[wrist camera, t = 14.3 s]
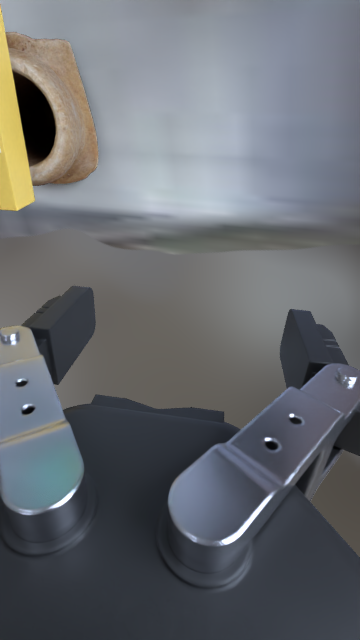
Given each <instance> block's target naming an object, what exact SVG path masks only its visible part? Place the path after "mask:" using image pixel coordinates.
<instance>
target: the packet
mask: <svg viewBox="0 0 360 640" xmlns="http://www.w3.org/2000/svg"><path fill="white" fill-rule="evenodd" d="M34 201H35V198H34V192H33V186H32V181H31V175H30V169H29V164H28V158H27V152H26V147H25V141H24V135H23V130H22V124H21V119H20V113H19V107H18V102H17V96H16V90H15V85H14V79H13V73H12V68H11V62H10V56H9V51H8V45H7V40H6V34H5V28H4V23H3V17H2V11H1V6H0V210H11V211H18V210H19V209H21V208H23V207H25V206H27V205H29V204H30V203H32V202H34Z"/></svg>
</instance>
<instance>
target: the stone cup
mask: <svg viewBox="0 0 360 640" xmlns="http://www.w3.org/2000/svg"><path fill="white" fill-rule="evenodd" d="M5 34H6V40H7V45H8V51H9V56H10V62H11V68H12V73H13V79H14V85H15V90H16V96H17V102H18V107H19V113H20V119H21V124H22V130H23V135H24V141H25V147H26V152H27V158H28V164H29V169H30V175H31V181H32V186H39V185H45V184H48V183H52V184H67V183H73V182H77V181H80V180H83V179H85V178H87V177H88V176H89V174H90V173H92V172H93V171H94V170H95V169H96V168H97V165H98V143H97V136H96V130H95V126H94V122H93V118H92V115H91V111H90V108H89V104H88V101H87V97H86V94H85V90H84V87H83V84H82V81H81V77H80V74H79V71H78V67H77V64H76V60H75V57H74V54H73V51H72V48H71V46H70V43H69V42H68V41H66V40H61V39H32V38H30V37H28V36H26V35H23V34H19V33H17V32H5Z"/></svg>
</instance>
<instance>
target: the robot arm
mask: <svg viewBox="0 0 360 640" xmlns="http://www.w3.org/2000/svg"><path fill="white" fill-rule="evenodd" d="M95 323H96V322H95V309H94V297H93V291H92V289H91V288H90V287H80V286H72V287H71V288H69V290H67V291H66V292H65V293H64V294H63V295H62V296H58V297H55V298H53V299H51V300H49V301H48V302H46V303H45V304H44V305H43V306H42V308H40V309H39V310H37V312H36V313H34V314H33V315H32V316H31V317H30V318H29V319H27V320H26V321H25V322H24V323H23V324H22V325H21V326H8V327H3V328H0V640H360V557H359V556H358V555H357V554H356V553H355V552H354V551H353V549H352V548H351V547H350V546H349V545H348V544H347V543H346V542H345V540H343V538H342V537H341V536H340V535H339V534H338V533H337V531H336V530H335V529H334V528H333V527H332V526H331V525H330V524H329V522H327V520H326V519H325V518H324V517H323V516H322V515H321V514H320V512H319V511H318V510H317V509H316V508H315V507H314V506H313V504H312V503H311V502H310V501H311V499H312V497H313V495H314V494H315V492H316V490H317V488H318V487H319V485H320V484H321V482H322V481H323V479H324V478H325V477H326V475H327V474H328V472H329V471H330V469H331V468H332V467H333V465H334V463H335V462H336V461H337V459H338V458H339V456H340V455H341V454H342V452H343V450H346V451H348V452H351V453H354V454H356V455H358V456H360V371H359V370H358V369H356V368H354V367H351V366H349V365H348V363H347V361H346V359H345V357H344V355H343V353H342V351H341V349H340V348H339V345H338V343H337V342H336V339H335V337H334V336H333V334H332V332H331V331H330V330H328V329H327V328H326V327H325V326H323V325H320V324H316V323H315V320H314V318H313V316H312V314H311V312H310V311H303V310H294V309H290V310H289V312H288V316H287V320H286V325H285V328H284V333H283V337H282V341H281V346H280V360H281V364H282V369H283V373H284V378H285V382H286V387H287V389H286V390H285V391H284V392H283V393H282V394H281V395H280V396H279V397H277V398H276V399H275V400H274V401H273V402H272V403H271V404H270V405H268V406H267V407H266V408H265V409H264V410H263V411H262V412H260V413H259V414H258V415H257V416H256V417H255V418H254V419H253V420H251V421H250V422H249V423H248V424H247V425H246V426H245V427H243V428H242V429H239V428H237V427H235V426H233V425H231V424H229V423H226V422H224V412H222V411H214V410H207V409H200V408H192V407H191V408H174V409H173V408H172V409H155V408H152V407H149V406H146V405H143V404H141V403H137V402H135V401H132V400H129V399H125V398H117V397H110V396H103V395H95V397H94V399H93V401H92V403H91V404H83V405H77V406H73V407H70V408H67V409H64V410H62V407H61V404H60V401H59V398H58V396H57V393H56V390H55V387H54V384H56V385H58V384H59V383H60V381H61V380H62V379H63V377H64V376H65V374H66V373H67V372H68V370H69V368H70V367H71V365H72V364H73V363H74V361H75V360H76V359H77V357H78V356H79V354H80V353H81V351H82V350H83V348H84V347H85V346H86V344H87V343H88V341H89V340H90V338H91V337H92V335H93V333H94V330H95Z"/></svg>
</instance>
